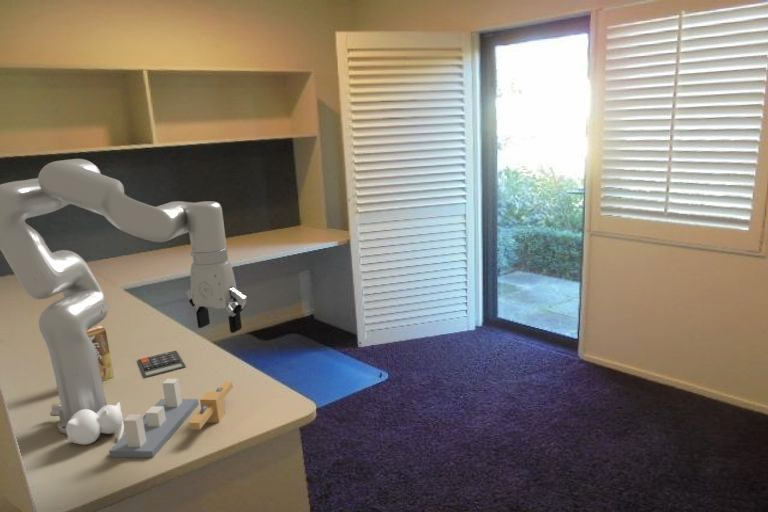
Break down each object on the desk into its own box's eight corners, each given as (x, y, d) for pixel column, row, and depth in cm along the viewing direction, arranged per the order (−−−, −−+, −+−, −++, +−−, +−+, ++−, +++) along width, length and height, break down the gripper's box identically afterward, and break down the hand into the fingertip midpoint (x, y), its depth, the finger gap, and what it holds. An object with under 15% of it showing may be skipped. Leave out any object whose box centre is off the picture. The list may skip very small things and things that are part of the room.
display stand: (110, 456, 121) (103, 424, 119) (161, 404, 144) (157, 376, 142) (153, 457, 120) (147, 424, 118) (198, 404, 142) (194, 375, 140)
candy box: (109, 373, 164) (100, 324, 161) (115, 377, 161) (105, 327, 158) (77, 384, 158) (67, 334, 154) (82, 388, 155) (72, 337, 152)
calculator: (176, 349, 178) (185, 365, 165) (176, 352, 178) (186, 368, 165) (137, 359, 172) (144, 376, 159) (137, 362, 172) (144, 379, 160)
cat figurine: (118, 390, 132) (61, 407, 124) (133, 426, 126) (75, 446, 119) (116, 412, 137) (61, 429, 129) (131, 447, 131) (75, 468, 124)
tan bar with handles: (188, 440, 126) (184, 417, 124) (222, 397, 145) (219, 376, 144) (205, 441, 125) (201, 417, 124) (237, 397, 145) (234, 376, 143)
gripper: (169, 258, 125) (180, 329, 129) (228, 263, 117) (238, 338, 121) (194, 251, 132) (203, 319, 136) (251, 255, 124) (259, 327, 128)
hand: (219, 328), depth 129 cm, fingers open, 9 cm apart
